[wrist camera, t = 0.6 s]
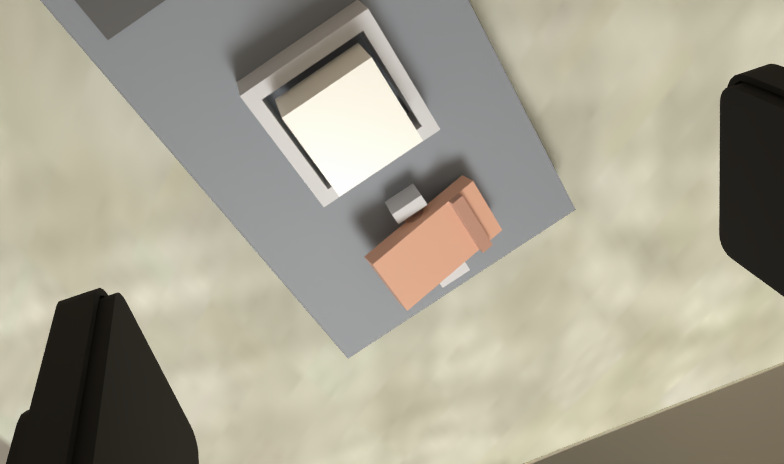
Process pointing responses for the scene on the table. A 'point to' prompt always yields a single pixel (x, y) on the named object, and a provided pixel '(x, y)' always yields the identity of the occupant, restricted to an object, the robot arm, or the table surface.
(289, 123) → the push button
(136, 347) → the robot arm
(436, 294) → the switch panel
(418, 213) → the rocker paddle
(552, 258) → the table surface
